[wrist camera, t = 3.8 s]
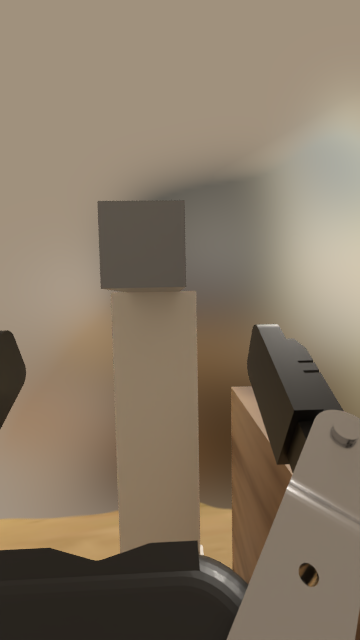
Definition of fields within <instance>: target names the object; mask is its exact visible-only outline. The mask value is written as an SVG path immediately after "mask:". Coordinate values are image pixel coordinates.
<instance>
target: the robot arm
mask: <svg viewBox="0 0 360 640" xmlns="http://www.w3.org/2000/svg"><path fill="white" fill-rule="evenodd" d="M247 369H248V375H249V379H250V382H251V385H252V389H253V392H254V395H255V398H256V401H257V404H258V407H259V410H260V414H261V417H262V420H263V423H264V426H265V429H266V432H267V435H268V439H269V442H270V445H271V448H272V451H273V454H274V457H275V461H276V464H277V465H285V464H290V467H291V470H292V473H293V475H292V477H291V480H290V482H289V484H288V487H287V489H286V492H285V494H284V497H283V499H282V502H281V504H280V507H279V509H278V512H277V514H276V517H275V519H274V522H273V524H272V527H271V529H270V532H269V534H268V537H267V539H266V542H265V544H264V547H263V549H262V552H261V554H260V557H259V559H258V562H257V565H256V567H255V570H254V572H253V575H252V577H251V580H250V582H249V584H248V583H247V582H246V581H245V580H244V579H243V578H242V577H240V576H239V575H238V574H237V573H235V572H234V571H233V570H232V569H230V568H229V567H227V566H226V565H224V564H222V563H221V562H219V561H217V560H214V559H212V558H210V557H207V556H204V555H200V554H199V552H198V540H196V541H176V542H156V543H148V544H145V545H142V546H140V547H137V548H134V549H131V550H128V551H126V552H123V553H120V554H117V555H114V556H112V557H109V558H106V559H103V560H99V561H95V560H90V559H87V558H83V557H80V556H76V555H73V554H69V553H66V552H62V551H58V550H55V549H51V548H38V549H18V550H0V640H355V636H356V629H357V623H358V616H359V610H360V419H359V418H357V417H356V416H354V415H352V414H350V413H347V412H344V411H343V409H342V408H341V406H340V404H339V403H338V401H337V399H336V398H335V396H334V394H333V393H332V391H331V389H330V388H329V386H328V384H327V383H326V381H325V379H324V378H323V376H322V374H321V373H319V369H318V368H317V366H316V364H315V363H313V359H312V358H311V356H310V354H309V353H308V351H307V349H306V348H305V347H304V346H302V345H301V344H300V343H298V342H297V341H296V340H295V339H286V338H285V336H284V334H283V333H282V330H281V329H280V327H279V326H278V324H265V325H264V324H262V325H254V327H253V329H252V336H251V341H250V347H249V354H248V361H247ZM25 377H26V368H25V364H24V362H23V359H22V356H21V354H20V351H19V349H18V346H17V344H16V341H15V338H14V336H13V334H12V333H11V332H10V331H0V429H1V427H2V425H3V423H4V421H5V419H6V417H7V415H8V413H9V411H10V409H11V407H12V405H13V403H14V402H15V400H16V398H17V396H18V394H19V392H20V390H21V388H22V386H23V384H24V381H25Z"/></svg>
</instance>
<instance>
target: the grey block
mask: <svg viewBox="0 0 360 640" xmlns="http://www.w3.org/2000/svg"><path fill="white" fill-rule="evenodd" d="M184 208H185V205H184V200H179V201H178V200H177V201H176V200H174V201H98V225H99V249H100V250H99V251H100V276H101V289H107V290H114V291H121V292H172V291H181V290H182V289H184V288H185V287H186V258H185V209H184Z"/></svg>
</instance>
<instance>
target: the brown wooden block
mask: <svg viewBox="0 0 360 640" xmlns="http://www.w3.org/2000/svg"><path fill="white" fill-rule="evenodd" d="M231 420H232V421H231V423H232V549H233V571H234V572H235V573H237V574H238V575H239V576H240V577H242V578H243V579H244V580H245V581H246V582H247V583H248V584H249V582H250V580H251V577H252V575H253V572H254V570H255V567H256V565H257V562H258V559H259V557H260V554H261V552H262V549H263V547H264V544H265V542H266V539H267V537H268V534H269V532H270V529H271V527H272V524H273V522H274V519H275V517H276V514H277V512H278V509H279V507H280V504H281V502H282V499H283V497H284V494H285V492H286V489H287V487H288V484H289V482H290V480H291V477H292V475H293V473H292V470H291V467H290V464H285V465H277V464H276V461H275V457H274V454H273V451H272V448H271V445H270V442H269V439H268V435H267V432H266V429H265V426H264V423H263V420H262V417H261V414H260V410H259V407H258V404H257V401H256V398H255V395H254V392H253V389H252V386H251V387H231ZM355 640H360V610H359V616H358V623H357V629H356V636H355Z"/></svg>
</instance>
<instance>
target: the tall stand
mask: <svg viewBox="0 0 360 640" xmlns="http://www.w3.org/2000/svg"><path fill="white" fill-rule="evenodd" d="M111 308H112V336H113V364H114V392H115V419H116V447H117V475H118V501H119V502H118V504H119V532H120V553H123V552H126V551H128V550H131V549H134V548H137V547H140V546H142V545H145V544H148V543H156V542H176V541H196V540H198V552H199V554H200V555H204V554H203V547H202V545H200V505H199V446H198V445H199V444H198V381H197V321H196V319H197V318H196V291H172V292H121V293H111Z"/></svg>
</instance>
